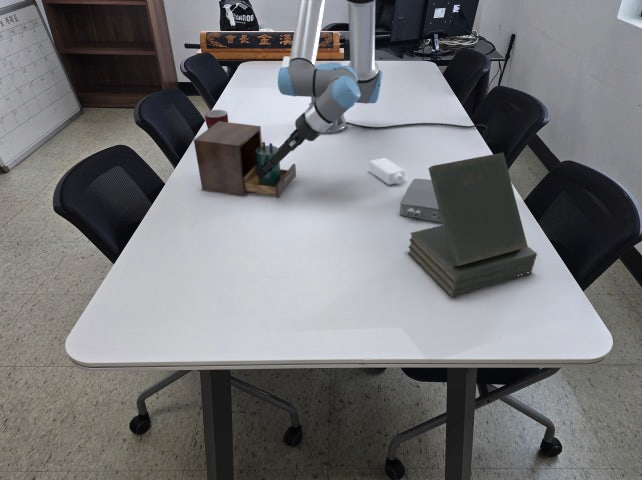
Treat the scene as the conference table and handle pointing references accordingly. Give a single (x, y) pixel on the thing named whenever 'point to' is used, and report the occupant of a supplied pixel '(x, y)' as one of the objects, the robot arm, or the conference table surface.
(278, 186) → the drawer
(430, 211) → the electronic device
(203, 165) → the open wooden box
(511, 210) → the stack of books
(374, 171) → the white bottle
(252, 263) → the conference table surface
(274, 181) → the pen pot
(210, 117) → the mug
